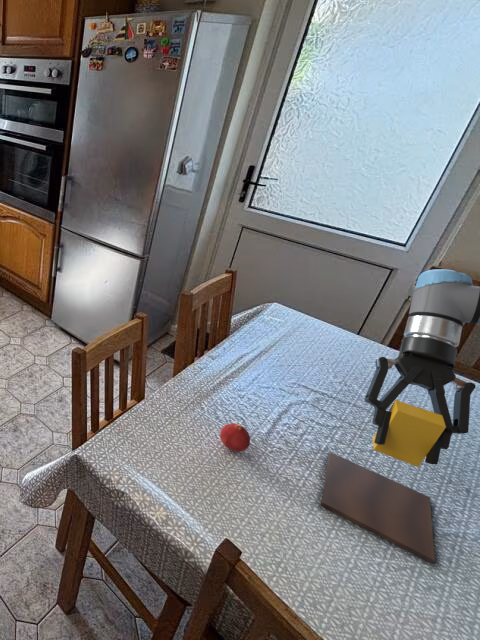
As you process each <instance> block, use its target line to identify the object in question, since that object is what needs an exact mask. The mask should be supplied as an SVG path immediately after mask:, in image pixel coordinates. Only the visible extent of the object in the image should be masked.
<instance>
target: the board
mask: <svg viewBox="0 0 480 640" xmlns="http://www.w3.org/2000/svg"><path fill="white" fill-rule="evenodd" d="M322 489H323V490H322V494H321V495H322V496H321V502H320V506H321V507H323V508H325V509H326V510H329V511H330V512H332V513H334V514H336V515H338V516H340V517H342V518H344V519H346V520H348V521H349V522H351V523H353V524H355V525H357V526H359V527H361V528H363V529H365V530H367V531H368V532H371V533H372V534H374V535H376V536H378V537H381V538H382V539H384V540H386V541H388V542H390V543H392V544H394V545H395V546H397V547H399V548H401V549H404V550H405V551H407V552H408V553H411V554H413V555H414V556H417V557H419V558H420V559H422V560H424V561H426V562H428V563H430V564H434V563H435V562H436V554H435V543H434V531H433V520H432V508H431V497H430V496H429V495H427V494H424V493H422V492H420V491H417V490H415V489H413V488H410V487H408V486H406V485H404V484H402V483H399V482H398V481H395V480H393V479H391V478H389V477H386V476H384V475H382V474H380V473H377V472H375V471H374V470H371V469H368V468H366V467H364V466H362V465H359V464H357V463H355V462H353V461H351V460H349V459H346V458H345V457H342V456H341V455H337V454H335V453H333V452H329V453H328V458H327V463H326V470H325V475H324V483H323V488H322Z"/></svg>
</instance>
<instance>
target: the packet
mask: <svg viewBox="0 0 480 640" xmlns="http://www.w3.org/2000/svg"><path fill="white" fill-rule="evenodd" d="M388 411H389V412H392V414H391V418H390V423H389V427H388V431H387V436H386V440H385V444H384V445H379V444H376V443H374V442H375V438H376V434H377V431H376V432H375V433H374V435H373V437H372V438H371V439H372V447H373V451H375V452H378V453H380V454H383V455H386V456H388V457H391V458H393V459H395V460H399V461H401V462H404V463H406V464H409V465H411V466H414V467H416V468H419V467H420V466H421V464H422V463H423V461H425V459H426V455H427V454H428V452H429V451H430V450H431V448H432V447H433V445H434V444H435V442H436V441H437V440H438V438H439V437H440V435H441V434H442V432H443V431H444V429H445V428H446V425H445V422H444V419H443V416H442V415H440V414H437V413H434V411H430V410H427V409H424V408H422V407H419V406H416V405H413V404H409V403H407V402H405V401H404V402H403V401H400V400H398V399H395V400H394V401H393V403H392V404H391V405H390V408H389V410H388Z"/></svg>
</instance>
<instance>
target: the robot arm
mask: <svg viewBox="0 0 480 640" xmlns="http://www.w3.org/2000/svg"><path fill="white" fill-rule="evenodd" d="M408 311H409V312H408V316H407V321H406V324H405V328H404V332H403V338H402V340H401V344H400V347H399V352H398V356H397V357H396V358H395V359H393V358H387V357H385V356H380V357H378V358H376V359H375V371H374V374H373V375H372V376H373V377H372V379H371V380H370V381H371V382H370V384H369V386H368V389H367V392H366V393H365V396H364V402H365V403H366V404H369V405H371V406H372V407H373V409H374V413H373V417H372V420H371V422H372V425H374V426H376V427H377V429H376V432H377V434H376V438H375V442H374V443H376V444H379V445H384V444H385V440H386V436H387V431H388V427H389V423H390V418H391V414H392V412H389V410H388V408H389V407H391V406H392V405H393V403H394V401H395V400H397V398H398V397H399V396H400V395H401V394H402V393H403V392H404V390H405V389H406V388H407V387H408V386H409V385H412V386H418V387H420V388H422V389H425V390H427V394H428V395H429V397H430V401H431V405H432V408H433V409H432V410H433V412H434V413H437V414H440V415H442V416H443V419H444V422H445V425H446V428H445V429H444V431H443V432H442V434H441V435H440V437H439V438H438V440H437V441H436V442H435V444H434V445H433V447H432V448H431V450H430V451H429V452H428V454H427V455H426V457H425V459H424V462H425V463H426V464H428V465H435V466H437V465H438V464H439V459H440V454H441V450H448V449H449V448H450V443H451V439H452V435H453V434H456V435H464V434H465V435H466V434H469V428H470V413H471V412H470V410H471V395H472V393H473V392H474V391H475V389H476V388H477V387H476V384H475V383H473V382H471V381H467V382H466V381H465V380H462V379H460V378H459V377H457V376H456V373H455V371H454V369H455V364H456V360H457V355H458V349H457V347H459V345H460V342H461V336H462V331H463V326H464V323H468V324H471V325H477V326H480V286H477V285H474V283H473V278H471V276H470V275H468V274H467V273H464V272H458V271H456V270H452V269H441V268H440V269H429V270H426V271H424V272H421V273H420V274H419V275H418V277H417V281H416V284H415V287H414V289H413V293H412V298H411V302H410V307H409V310H408ZM393 366H394V367H395V369H396V370H397V372H398V374H399V375H400V376H399V377H398V378H397V379H396V381H395V382H394V384H393V385H392V386H391V387H390V388H389V389H388V390H387V391H386V393H384V395H383V396H382V398H380V400H379V399H378V397H379V395H380V392H381V390H382V388H383V386H384V383H385V380H386V377H387V375H388V373H389V370H390V369H392V368H393ZM450 383H451V384H452V385H453V387H452V388H453V390H454V391H455V392H454V397H453V398H454V399H453V410H452V411H453V413H452V418H451V414H450V410H449V406H448V403H447V399H446V390H445V387H444V386H446V385H448V384H450Z"/></svg>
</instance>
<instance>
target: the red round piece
mask: <svg viewBox="0 0 480 640" xmlns="http://www.w3.org/2000/svg"><path fill="white" fill-rule="evenodd" d="M219 438H220V439H221V440H220V441H221V443H222V444H223V445H224V446H225V448H227V449H228V450H229V451H231V452H232V451H233V452H243V451H246V450H247V449H248V448H249V447H250V443H251V437H250V434H249V431H247V429H246V428H245V427H244V426H243V425H241V424H240V423H233V422H232V423H228V424H225V425H224V426H223V427H222V428H221V430H220V434H219Z"/></svg>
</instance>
